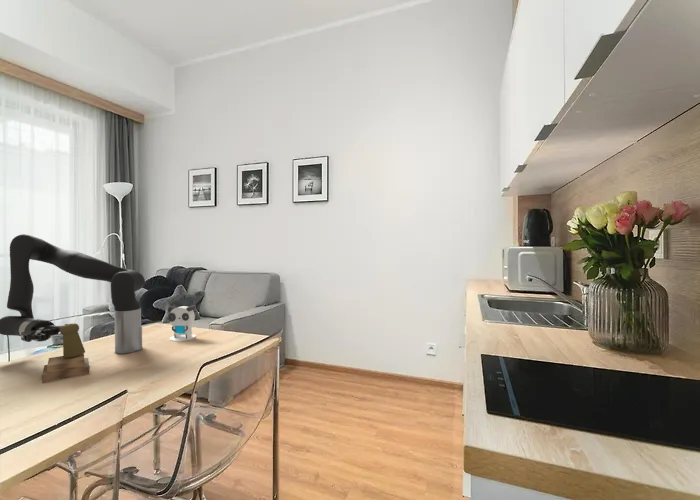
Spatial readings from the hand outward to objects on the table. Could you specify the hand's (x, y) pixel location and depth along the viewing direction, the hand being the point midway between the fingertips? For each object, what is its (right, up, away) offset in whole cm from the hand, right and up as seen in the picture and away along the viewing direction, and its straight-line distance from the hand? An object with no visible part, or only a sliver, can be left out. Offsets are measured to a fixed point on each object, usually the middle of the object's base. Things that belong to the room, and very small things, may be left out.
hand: (60, 334), depth 117 cm
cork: (+4, -8, +1) cm, 9 cm away
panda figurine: (+22, -12, +42) cm, 49 cm away
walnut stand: (+3, -13, -1) cm, 13 cm away
